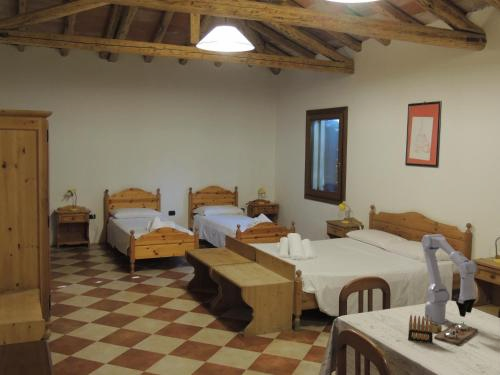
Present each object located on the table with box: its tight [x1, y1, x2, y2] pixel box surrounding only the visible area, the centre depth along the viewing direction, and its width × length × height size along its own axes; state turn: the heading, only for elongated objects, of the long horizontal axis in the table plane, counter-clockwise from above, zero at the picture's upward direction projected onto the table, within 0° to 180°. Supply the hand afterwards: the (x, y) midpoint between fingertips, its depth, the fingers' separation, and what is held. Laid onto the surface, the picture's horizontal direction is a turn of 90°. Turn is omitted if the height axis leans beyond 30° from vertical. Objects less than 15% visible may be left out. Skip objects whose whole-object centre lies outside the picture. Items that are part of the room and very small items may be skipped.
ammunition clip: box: [407, 314, 434, 344], centre depth 232 cm, size 11×2×12 cm, turn 71°
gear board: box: [433, 322, 479, 346], centre depth 240 cm, size 11×24×1 cm, turn 136°
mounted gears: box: [444, 321, 470, 339], centre depth 239 cm, size 6×20×3 cm, turn 136°
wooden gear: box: [429, 322, 443, 334], centre depth 245 cm, size 6×6×3 cm
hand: (465, 314), depth 242 cm, fingers open, 7 cm apart
